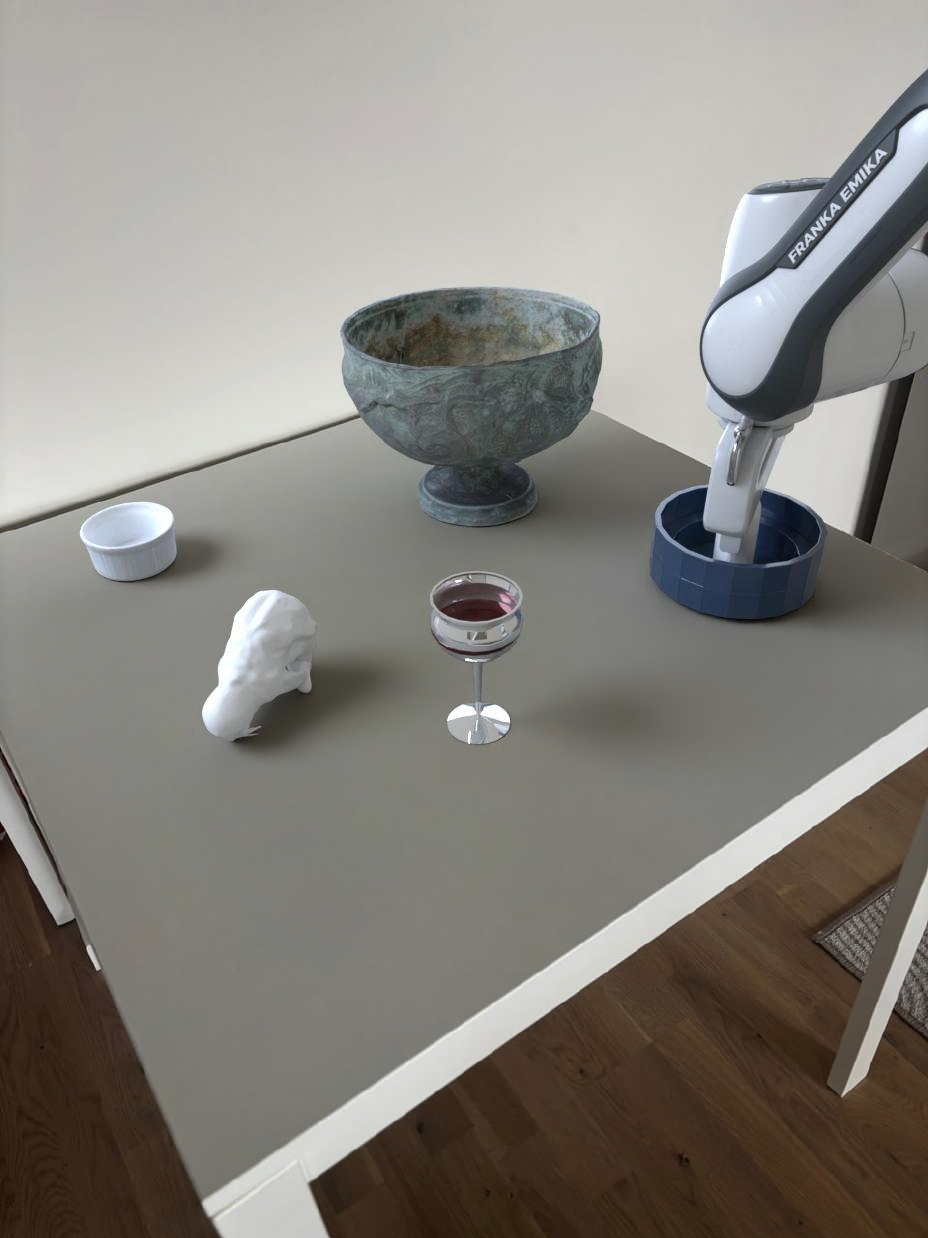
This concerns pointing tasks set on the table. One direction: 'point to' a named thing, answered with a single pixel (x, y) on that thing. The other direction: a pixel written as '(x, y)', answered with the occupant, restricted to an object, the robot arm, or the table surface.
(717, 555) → the eye dropper bottle
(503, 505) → the decorative bowl
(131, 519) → the ramekin
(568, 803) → the table surface
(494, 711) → the wineglass
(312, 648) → the white lumpy figure
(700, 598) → the blue bowl
